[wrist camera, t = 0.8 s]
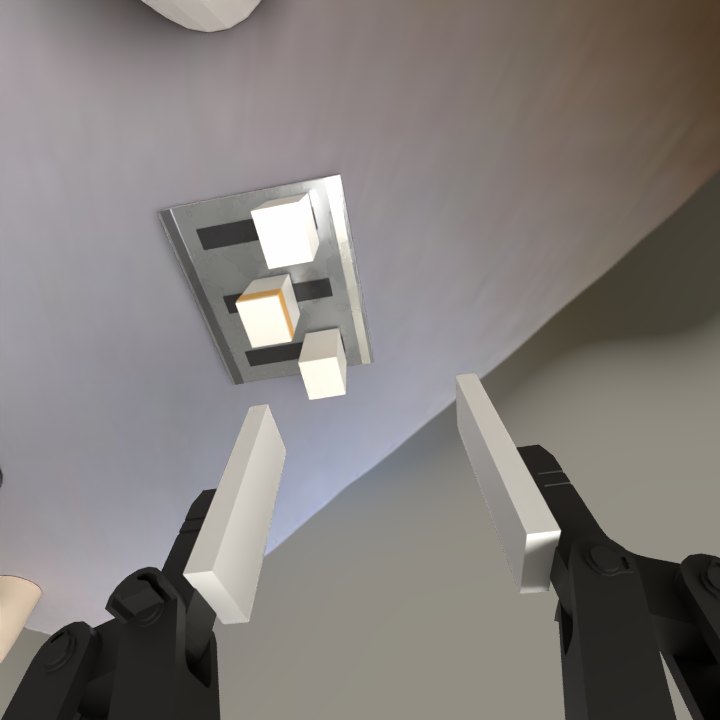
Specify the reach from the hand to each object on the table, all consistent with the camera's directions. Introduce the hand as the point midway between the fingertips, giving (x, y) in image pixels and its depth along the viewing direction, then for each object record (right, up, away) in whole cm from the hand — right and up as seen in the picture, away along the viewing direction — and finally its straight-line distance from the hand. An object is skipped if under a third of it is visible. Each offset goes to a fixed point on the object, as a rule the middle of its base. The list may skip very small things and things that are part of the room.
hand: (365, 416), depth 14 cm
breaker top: (-5, +13, +12) cm, 18 cm away
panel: (-7, +9, +17) cm, 20 cm away
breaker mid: (-7, +8, +15) cm, 18 cm away
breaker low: (-3, +3, +17) cm, 18 cm away
